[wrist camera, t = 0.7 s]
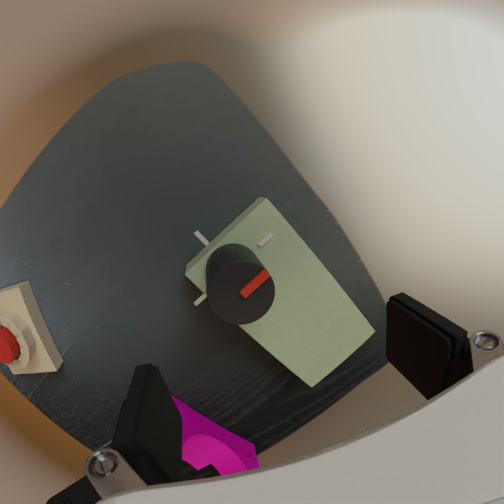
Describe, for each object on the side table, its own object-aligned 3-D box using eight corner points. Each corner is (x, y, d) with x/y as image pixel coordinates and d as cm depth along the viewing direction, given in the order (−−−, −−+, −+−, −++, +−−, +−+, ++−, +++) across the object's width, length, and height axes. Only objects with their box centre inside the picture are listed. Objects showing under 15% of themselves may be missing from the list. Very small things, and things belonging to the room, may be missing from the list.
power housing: (-13, 292, 22) (-31, 305, 19) (28, 280, 23) (9, 293, 19) (20, 365, 25) (7, 382, 21) (63, 361, 26) (51, 380, 22)
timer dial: (231, 305, 24) (240, 339, 19) (194, 269, 23) (191, 295, 17) (270, 270, 24) (290, 295, 19) (234, 231, 23) (244, 247, 17)
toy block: (134, 414, 29) (125, 459, 22) (165, 390, 29) (160, 438, 21) (221, 462, 33) (227, 503, 26) (253, 444, 33) (264, 485, 26)
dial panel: (162, 259, 25) (157, 268, 22) (245, 181, 25) (251, 180, 22) (295, 378, 31) (303, 395, 28) (362, 319, 31) (376, 332, 28)
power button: (-9, 328, 20) (-17, 335, 18) (10, 324, 20) (2, 332, 19) (5, 357, 21) (-2, 364, 19) (25, 354, 21) (18, 363, 20)
